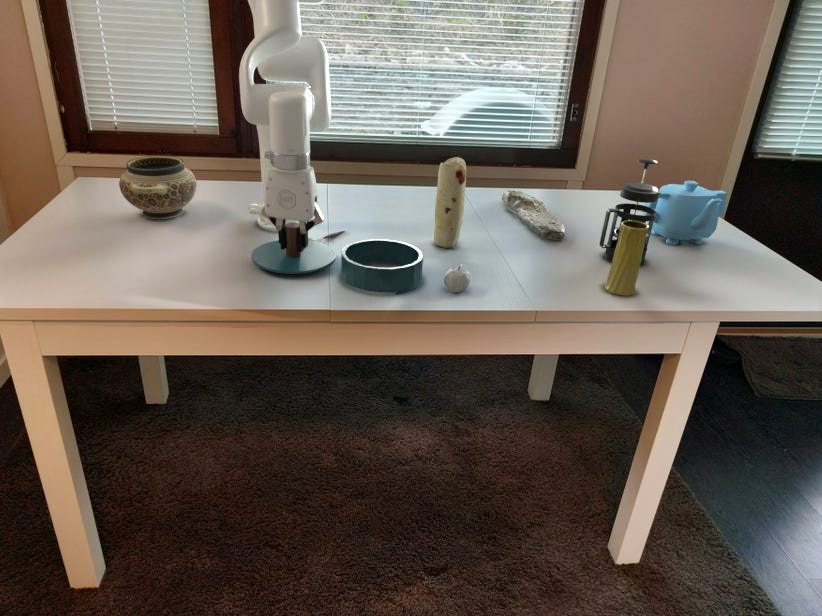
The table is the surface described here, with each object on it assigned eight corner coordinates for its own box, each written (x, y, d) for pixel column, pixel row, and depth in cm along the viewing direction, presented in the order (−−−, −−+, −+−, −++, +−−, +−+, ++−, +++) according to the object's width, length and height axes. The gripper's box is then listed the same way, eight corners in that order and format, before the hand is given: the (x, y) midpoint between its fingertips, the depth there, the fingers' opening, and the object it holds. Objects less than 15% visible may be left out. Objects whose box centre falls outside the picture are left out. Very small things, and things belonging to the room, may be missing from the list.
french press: (638, 252, 156) (662, 155, 145) (654, 267, 148) (681, 165, 137) (590, 251, 155) (611, 153, 144) (604, 266, 147) (627, 163, 136)
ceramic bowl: (152, 208, 175) (130, 152, 168) (215, 194, 174) (195, 138, 166) (121, 240, 154) (93, 178, 146) (192, 225, 153) (168, 161, 145)
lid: (237, 269, 132) (234, 234, 128) (270, 239, 147) (268, 206, 143) (320, 281, 129) (320, 245, 125) (345, 249, 144) (345, 216, 140)
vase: (600, 284, 138) (614, 219, 131) (627, 284, 139) (643, 219, 132) (610, 296, 133) (626, 229, 126) (639, 296, 134) (656, 229, 126)
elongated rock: (535, 246, 160) (572, 248, 162) (540, 226, 157) (577, 228, 159) (492, 197, 188) (524, 199, 190) (496, 179, 185) (528, 181, 188)
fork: (349, 234, 157) (349, 226, 156) (310, 246, 144) (310, 238, 143) (340, 232, 158) (340, 224, 157) (301, 244, 145) (301, 235, 144)
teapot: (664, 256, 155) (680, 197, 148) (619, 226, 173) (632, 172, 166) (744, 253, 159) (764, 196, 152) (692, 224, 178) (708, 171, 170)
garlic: (455, 282, 135) (457, 258, 133) (475, 290, 132) (478, 266, 130) (436, 289, 131) (438, 265, 129) (457, 298, 128) (459, 273, 126)
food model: (461, 252, 151) (470, 165, 140) (432, 250, 151) (439, 163, 140) (459, 238, 159) (468, 154, 149) (432, 236, 159) (439, 152, 149)
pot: (331, 288, 129) (331, 262, 127) (353, 259, 143) (353, 235, 141) (412, 299, 127) (414, 273, 124) (427, 268, 141) (429, 244, 138)
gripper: (243, 160, 125) (249, 249, 135) (325, 170, 123) (325, 260, 132) (258, 151, 131) (263, 237, 141) (336, 160, 129) (336, 247, 139)
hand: (293, 247), depth 137 cm, fingers closed on lid, 3 cm apart
